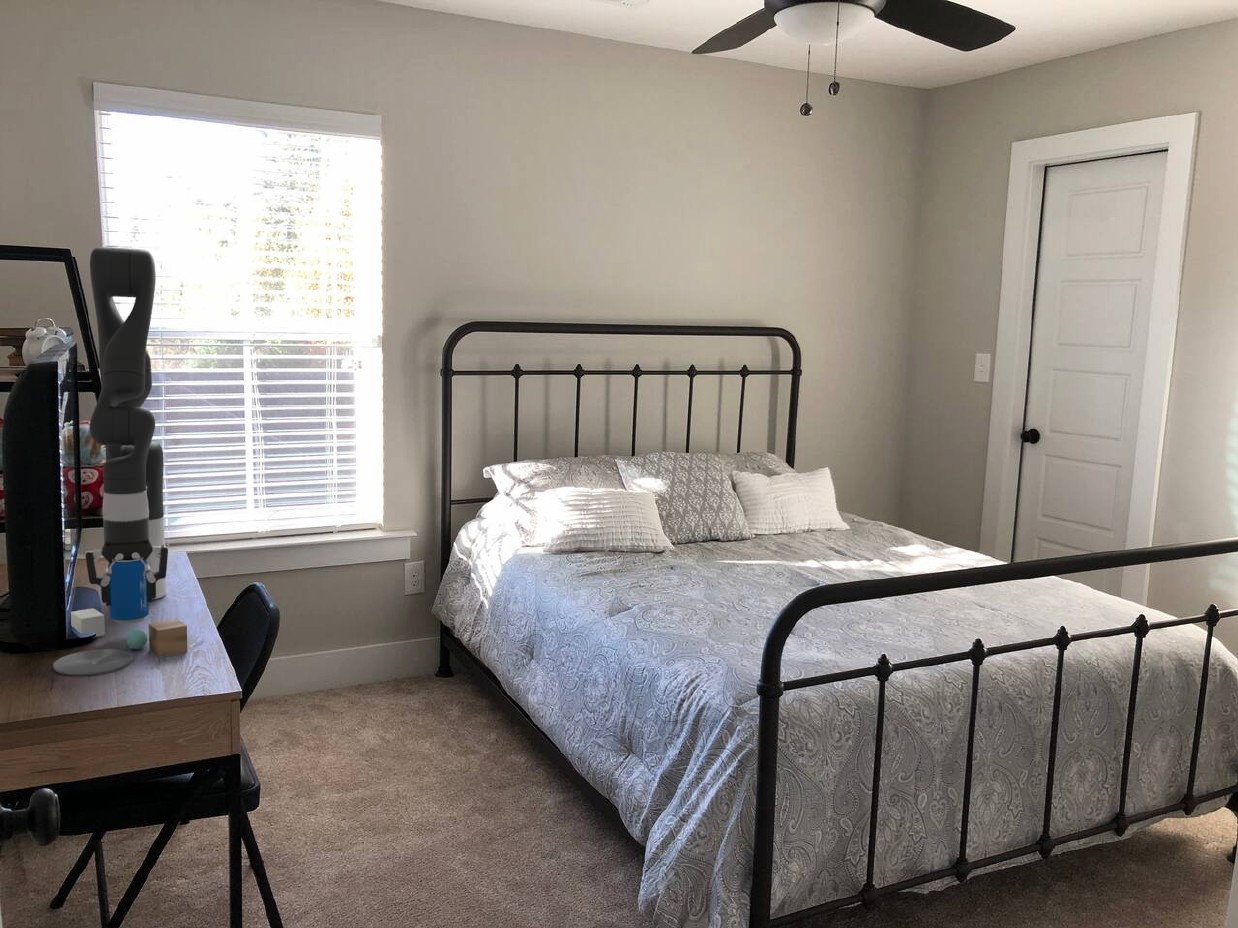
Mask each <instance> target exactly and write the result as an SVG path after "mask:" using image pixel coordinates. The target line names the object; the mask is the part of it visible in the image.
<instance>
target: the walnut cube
mask: <svg viewBox="0 0 1238 928" xmlns="http://www.w3.org/2000/svg"><path fill="white" fill-rule="evenodd" d="M148 647H149V651H150V652H151V653H152V654H154V655H155V656H156V657H157V658H161V657H167V656H173V655H179V654H185V653H188V625H187V624H185V623H184V622H183V621H181V620H180V619H178V618H175V619H168V620H162V621H157V622H149V623H148Z"/></svg>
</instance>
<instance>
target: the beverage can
mask: <svg viewBox="0 0 1238 928" xmlns="http://www.w3.org/2000/svg"><path fill="white" fill-rule="evenodd" d="M142 559H143V558H142ZM112 561H113V559H112ZM143 561H144V560H143ZM144 562H145V564H146V565H147V561H144ZM110 565H111V564H110V563H109V562H108V565H107V566H108V569H109V567H110ZM111 571H112V575H111V576H110V581H109V583H108V584H109V586H110V606H109V615H110V619H111V620H114V622H115V623H117V624H135V623H138V622H142V621H144V620H145V618H147V617H148V616H149V614H150V612H149V611H150V608H149V602H148V579H147V578H146V573H145V565H144V563H143V562H142V561H141V559H136V560H122V561H118V560H115V563H114V564H113V565H112V567H111Z"/></svg>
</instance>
